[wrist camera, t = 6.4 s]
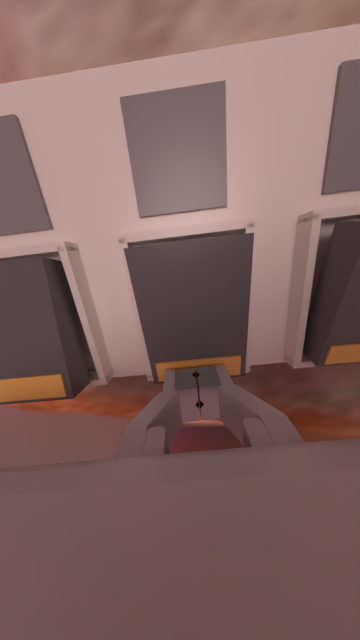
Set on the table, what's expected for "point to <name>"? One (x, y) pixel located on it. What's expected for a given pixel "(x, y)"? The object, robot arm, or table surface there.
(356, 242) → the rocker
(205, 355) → the panel
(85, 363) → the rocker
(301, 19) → the table surface
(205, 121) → the rocker switch panel
